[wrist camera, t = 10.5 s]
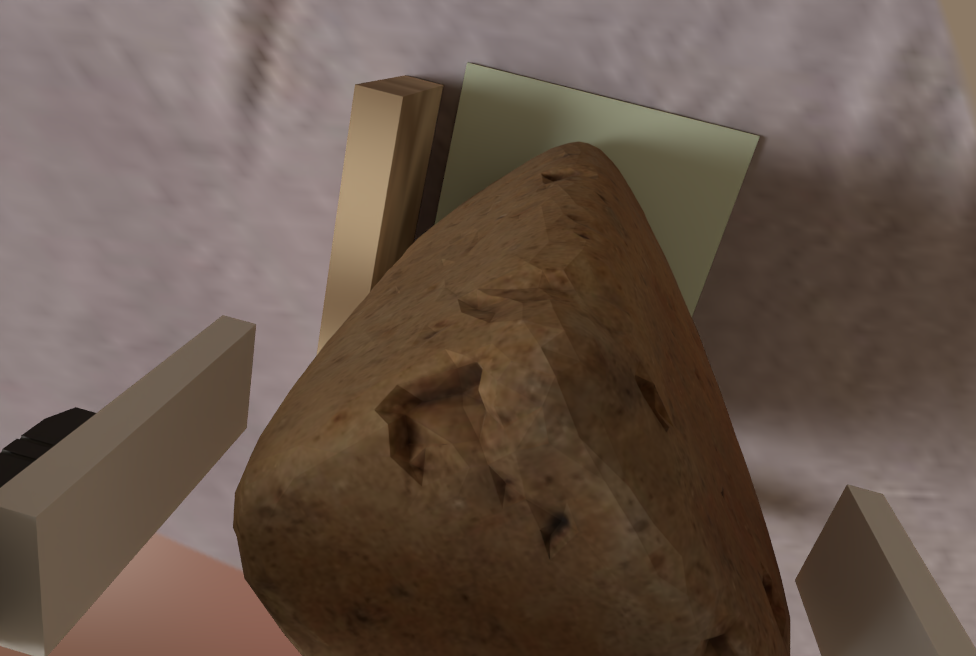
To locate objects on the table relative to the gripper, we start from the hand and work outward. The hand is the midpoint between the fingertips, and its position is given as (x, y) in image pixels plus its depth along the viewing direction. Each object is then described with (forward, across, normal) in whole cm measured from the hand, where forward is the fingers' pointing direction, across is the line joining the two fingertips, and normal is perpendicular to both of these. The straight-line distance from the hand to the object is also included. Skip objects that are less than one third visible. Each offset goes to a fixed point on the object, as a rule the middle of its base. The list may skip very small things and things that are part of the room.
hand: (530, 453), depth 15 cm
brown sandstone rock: (+14, +1, -1) cm, 14 cm away
